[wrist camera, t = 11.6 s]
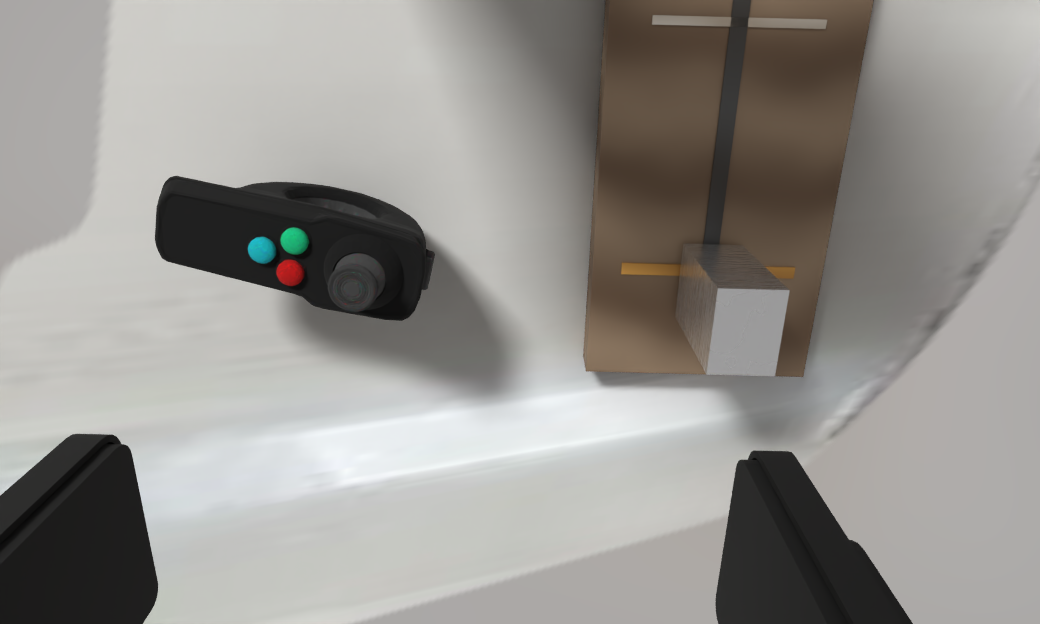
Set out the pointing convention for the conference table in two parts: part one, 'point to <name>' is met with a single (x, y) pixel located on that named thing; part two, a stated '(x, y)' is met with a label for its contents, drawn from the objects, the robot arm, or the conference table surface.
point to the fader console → (715, 161)
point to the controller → (299, 242)
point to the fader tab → (730, 309)
